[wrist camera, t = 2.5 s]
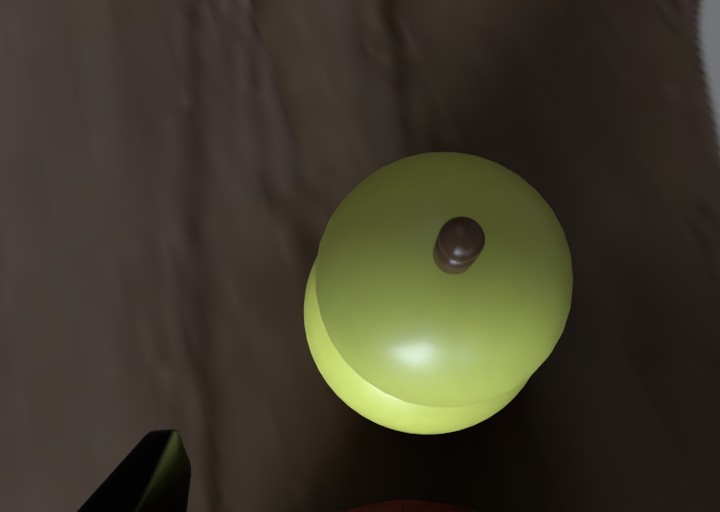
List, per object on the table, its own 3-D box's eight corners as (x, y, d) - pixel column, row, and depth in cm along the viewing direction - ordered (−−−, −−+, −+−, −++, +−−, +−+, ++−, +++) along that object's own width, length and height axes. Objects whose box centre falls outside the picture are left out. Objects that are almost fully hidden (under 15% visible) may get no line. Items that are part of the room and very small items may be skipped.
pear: (555, 359, 19) (859, 336, 7) (380, 460, 19) (361, 633, 6) (451, 192, 20) (545, -83, 8) (286, 284, 20) (118, 144, 8)
